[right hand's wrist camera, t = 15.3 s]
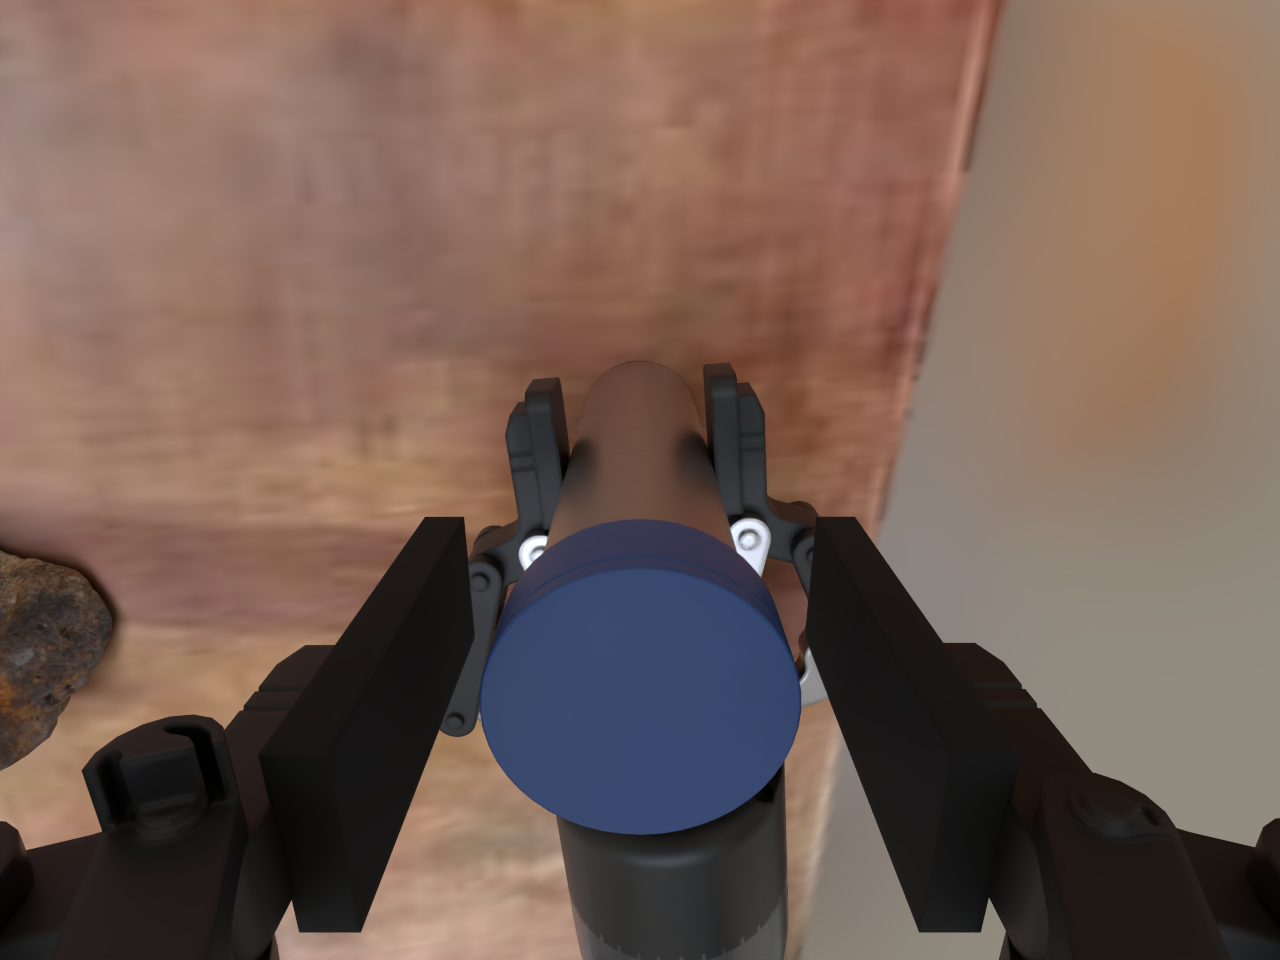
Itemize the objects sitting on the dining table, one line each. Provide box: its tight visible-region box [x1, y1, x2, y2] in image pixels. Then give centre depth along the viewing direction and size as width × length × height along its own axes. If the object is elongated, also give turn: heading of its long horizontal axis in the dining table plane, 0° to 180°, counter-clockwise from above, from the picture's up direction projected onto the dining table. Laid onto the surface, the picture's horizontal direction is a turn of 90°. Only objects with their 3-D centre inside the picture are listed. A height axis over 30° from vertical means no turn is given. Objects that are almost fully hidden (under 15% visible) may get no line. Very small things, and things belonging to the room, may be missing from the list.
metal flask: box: [544, 361, 737, 552], centre depth 18 cm, size 4×4×16 cm
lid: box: [479, 519, 801, 835], centre depth 11 cm, size 5×5×2 cm
